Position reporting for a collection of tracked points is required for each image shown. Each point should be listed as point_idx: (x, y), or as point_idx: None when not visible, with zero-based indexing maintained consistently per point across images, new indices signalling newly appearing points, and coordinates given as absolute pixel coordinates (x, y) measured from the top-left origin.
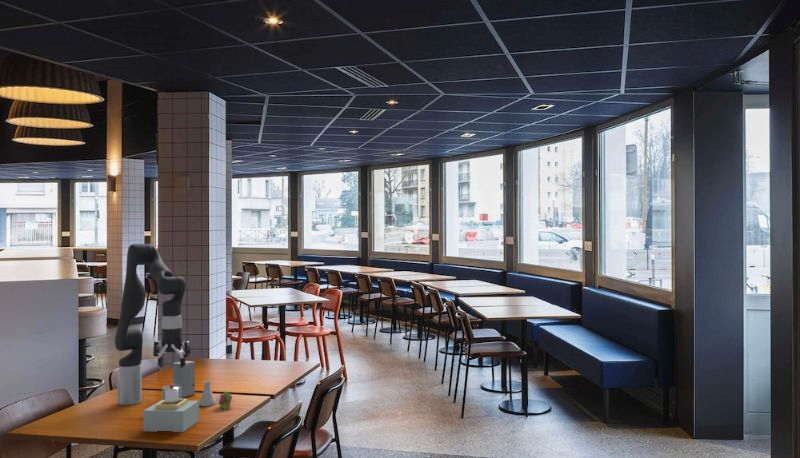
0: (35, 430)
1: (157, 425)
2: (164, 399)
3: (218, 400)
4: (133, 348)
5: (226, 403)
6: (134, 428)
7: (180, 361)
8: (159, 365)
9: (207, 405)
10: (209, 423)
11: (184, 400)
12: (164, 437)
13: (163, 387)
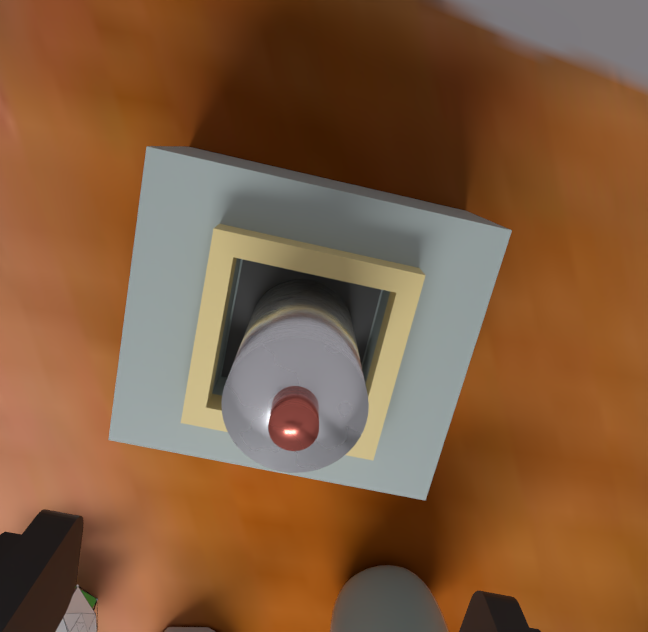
0: None
1: (375, 191)
2: (431, 618)
3: (70, 607)
4: None
5: None
6: (537, 278)
7: (4, 612)
8: (524, 619)
9: (180, 630)
10: (65, 305)
11: (196, 374)
12: (291, 50)
13: None
